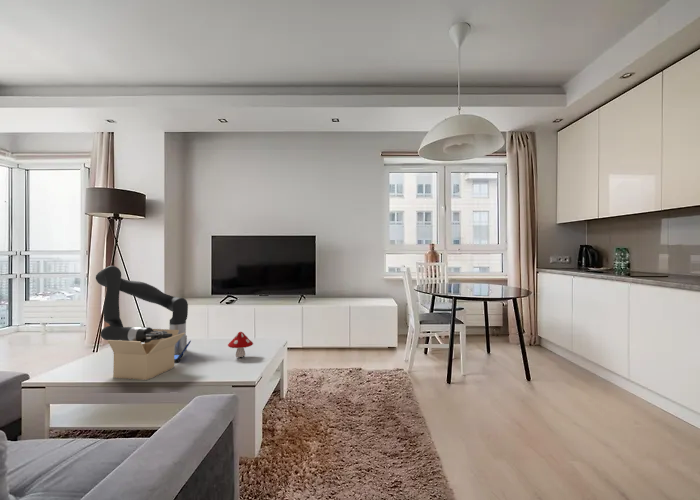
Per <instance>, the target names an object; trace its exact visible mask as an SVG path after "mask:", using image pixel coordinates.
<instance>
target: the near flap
mask: <svg viewBox="0 0 700 500" xmlns="http://www.w3.org/2000/svg"><path fill="white" fill-rule="evenodd" d="M184 334H185V332H184V333H181V334H178V335H175V336H172V337H169V338H166V339H163V340H160V341H159V342H158V343H157V344H156V345H155V346H154V348H153V349H152V350H151V351H150V352H149V353H148V354H151V353H154V352H157V351H159V350H162V349H165V348H168V347H171V346H173V345H175V344H176V343H177V342H178V341H179V339H180V338H181V337H182V336H183V335H184Z"/></svg>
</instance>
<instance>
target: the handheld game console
mask: <svg viewBox="0 0 700 500" xmlns="http://www.w3.org/2000/svg"><path fill="white" fill-rule="evenodd" d="M191 342H192V340H189V341H188V342H187V345H186V347H185V348H184V350H183V351H182V352H181V353H174V364H178V363H180V360H181V359H183V357H184V354H185V352H186V351H185V350H186V348H187V349H188V347H189V345H190V343H191Z"/></svg>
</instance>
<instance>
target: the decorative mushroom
mask: <svg viewBox="0 0 700 500" xmlns="http://www.w3.org/2000/svg"><path fill="white" fill-rule="evenodd" d="M253 345H254V342H253V341H252V340H250V339H249V337H248V336H247V335H246V334H245V333H244V332H243V331H239V332H237V333H236V335H235V336H234V337H233V339H232V340H231V341H230V342H228V344H227V347H228V348H230V349H236V352H235V357H236V358H237V357H243V356H244V357H245V356H246V351H245V348H249V347H252V346H253ZM244 357H243V358H244Z"/></svg>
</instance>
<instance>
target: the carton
mask: <svg viewBox="0 0 700 500" xmlns="http://www.w3.org/2000/svg"><path fill="white" fill-rule="evenodd" d="M152 329H153V331H163V330H164V331H166V332H167V333H169V334H172V336H175V335H178V332H179V330H169V329H167V328H166V329H165V328H164V329H162V328H152ZM164 339H166V338H164ZM160 340H163V339H159V340H151V341H150V342H148V343H143V342H141V341H122V340H107V343H108V345H109V346H110V348H111V350H112V352H113V375H112V376H113V377H112V378H113V379H120V380H121V379H124V380H138V381H139V380H140V381H148V380H150V379H152V378H155V377H157V376H159V375H162V374H163V373H166V372H168V371H170V370H172V369H175V363H174V354H175V353H174V347H175V345H173V346H171V347H168V348H165V349H162V350H159V351H157V352H154V353H151V354H148V353H149V352H150V351H151V350H152V349H153V348H154V346H155V345H156V344H157V343H158V342H159V341H160Z"/></svg>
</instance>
